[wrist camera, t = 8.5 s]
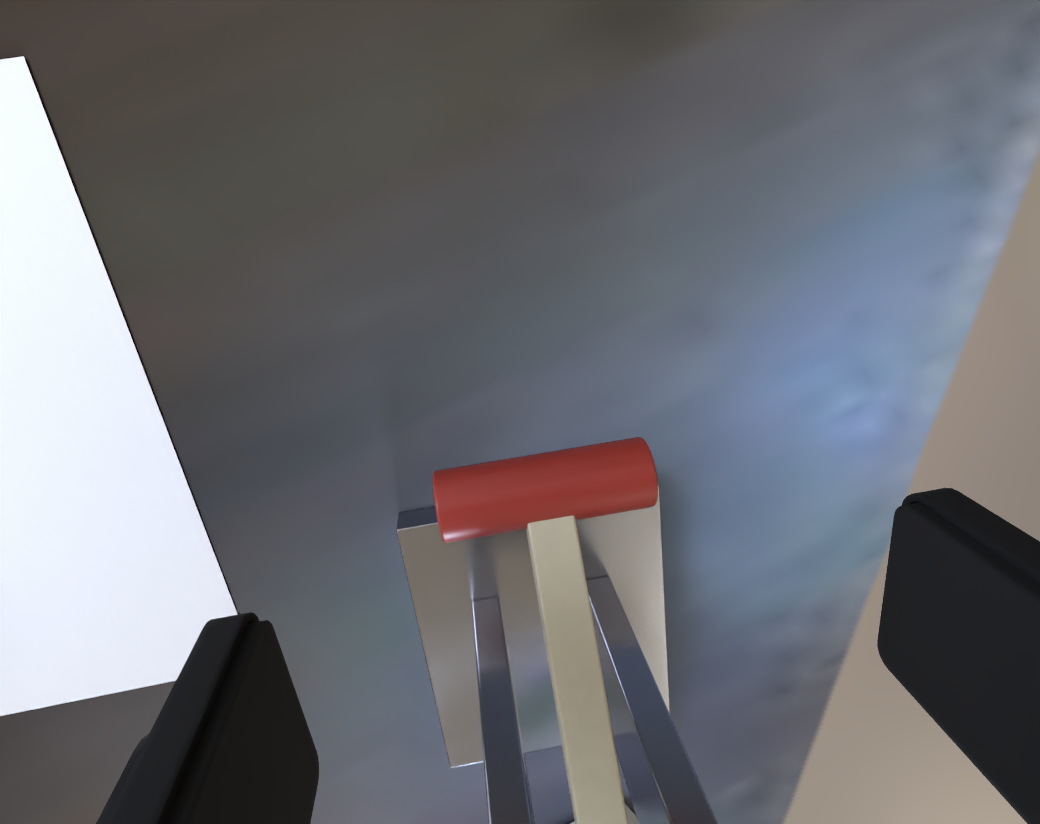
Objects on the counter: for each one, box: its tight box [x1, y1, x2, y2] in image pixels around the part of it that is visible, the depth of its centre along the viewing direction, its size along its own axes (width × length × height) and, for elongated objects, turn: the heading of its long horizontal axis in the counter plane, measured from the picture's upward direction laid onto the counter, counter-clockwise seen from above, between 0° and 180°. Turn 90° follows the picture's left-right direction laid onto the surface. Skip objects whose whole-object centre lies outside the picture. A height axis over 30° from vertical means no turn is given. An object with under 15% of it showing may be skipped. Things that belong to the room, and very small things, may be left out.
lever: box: [433, 437, 658, 824], centre depth 14 cm, size 12×5×2 cm, turn 7°
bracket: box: [396, 484, 718, 824], centre depth 18 cm, size 11×9×13 cm
